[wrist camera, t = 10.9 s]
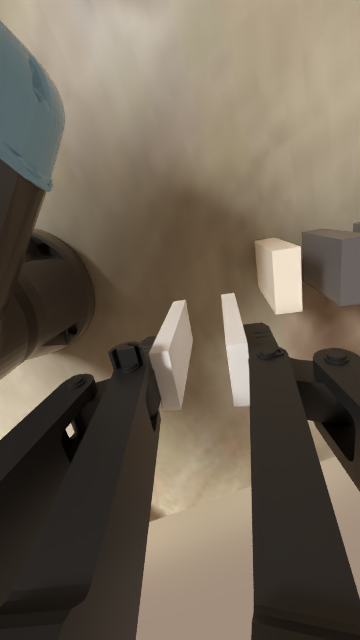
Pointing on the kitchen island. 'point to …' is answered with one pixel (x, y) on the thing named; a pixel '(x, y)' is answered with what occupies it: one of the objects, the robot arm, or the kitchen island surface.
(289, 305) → the domino ivory
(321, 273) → the domino
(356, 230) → the domino
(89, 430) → the robot arm
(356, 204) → the kitchen island surface
